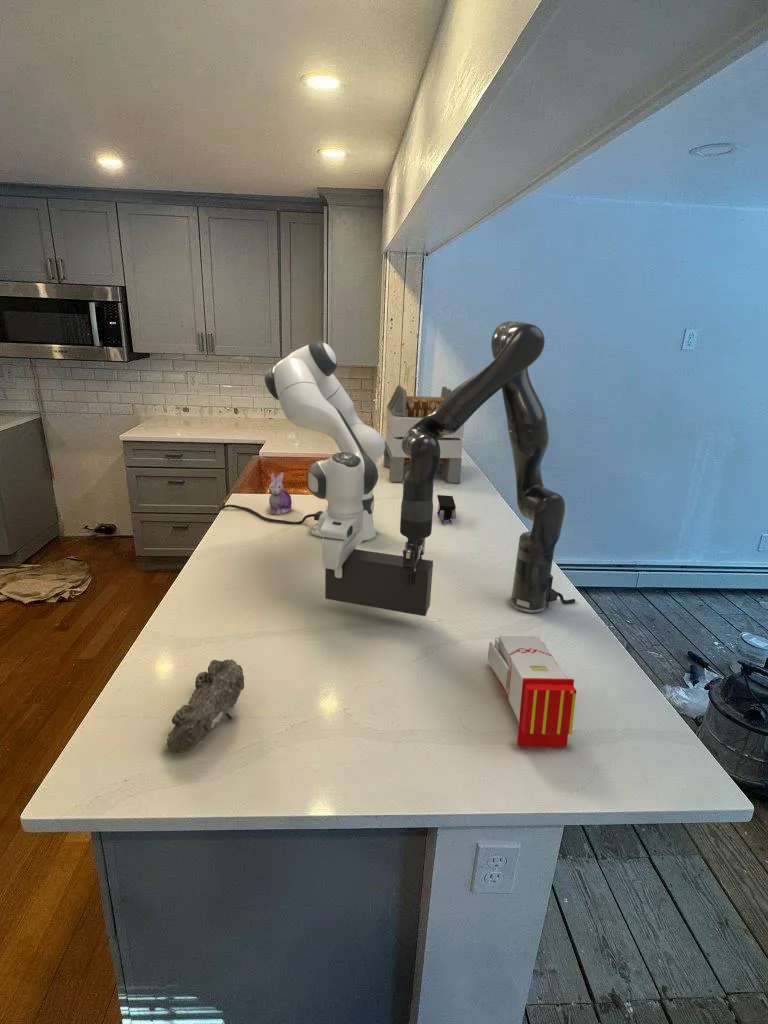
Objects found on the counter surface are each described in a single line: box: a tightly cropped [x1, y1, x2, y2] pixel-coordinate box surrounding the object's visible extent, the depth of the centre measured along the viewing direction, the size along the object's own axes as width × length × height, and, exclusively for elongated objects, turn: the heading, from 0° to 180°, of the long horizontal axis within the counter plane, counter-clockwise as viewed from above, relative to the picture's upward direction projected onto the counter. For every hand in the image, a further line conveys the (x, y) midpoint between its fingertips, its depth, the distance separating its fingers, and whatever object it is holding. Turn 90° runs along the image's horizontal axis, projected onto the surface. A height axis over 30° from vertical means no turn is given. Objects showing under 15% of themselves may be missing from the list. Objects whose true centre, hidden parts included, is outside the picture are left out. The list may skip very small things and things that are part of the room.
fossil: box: [166, 658, 245, 754], centre depth 106 cm, size 22×10×15 cm
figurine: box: [268, 471, 293, 515], centre depth 214 cm, size 9×10×15 cm
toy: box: [486, 635, 577, 748], centre depth 115 cm, size 12×13×30 cm
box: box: [324, 548, 434, 617], centre depth 142 cm, size 26×6×12 cm, turn 74°
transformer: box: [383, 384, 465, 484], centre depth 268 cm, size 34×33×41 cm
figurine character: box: [436, 494, 457, 524], centre depth 215 cm, size 7×8×15 cm
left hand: (343, 570), depth 144 cm, fingers closed on box, 6 cm apart
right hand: (412, 579), depth 139 cm, fingers closed on box, 5 cm apart
